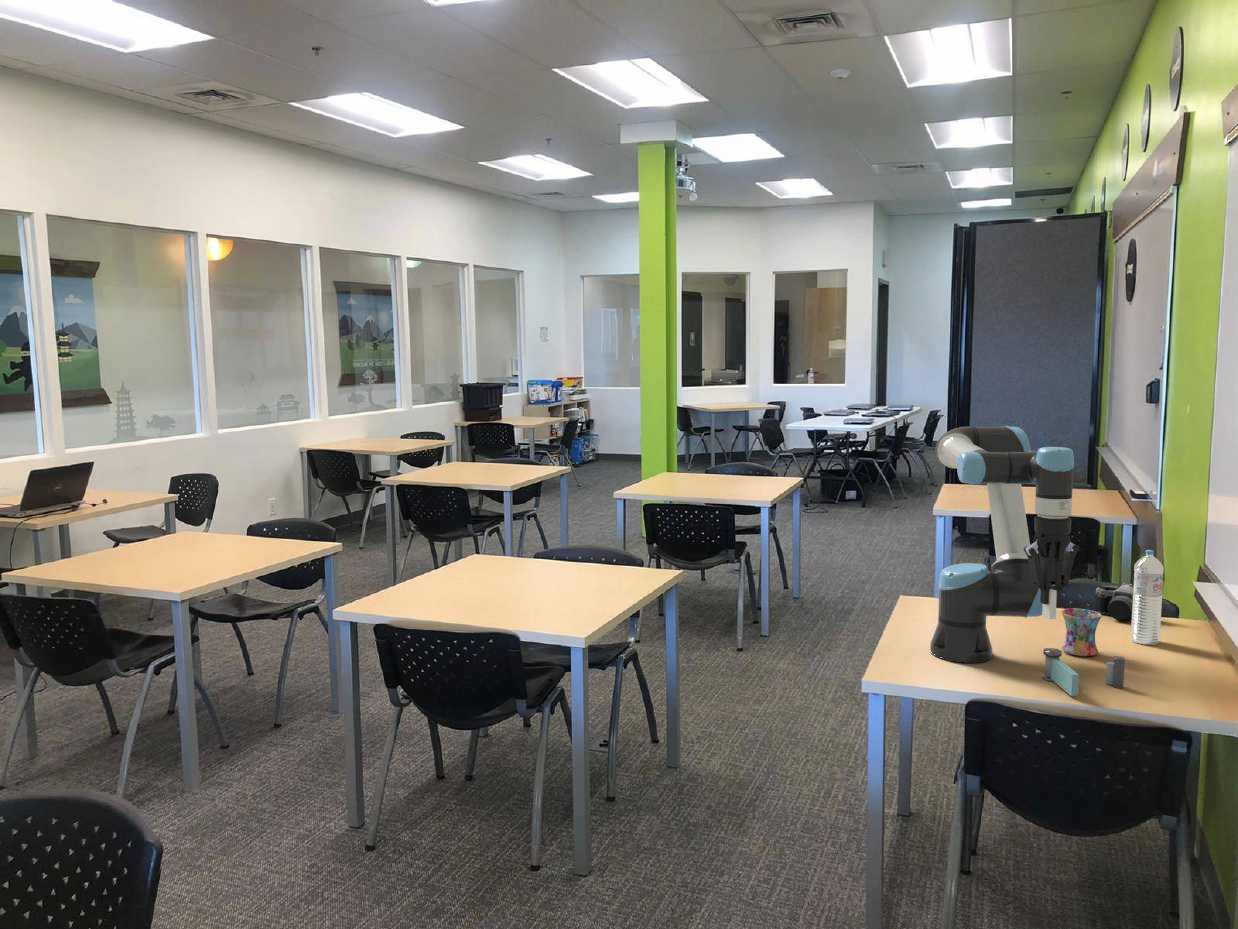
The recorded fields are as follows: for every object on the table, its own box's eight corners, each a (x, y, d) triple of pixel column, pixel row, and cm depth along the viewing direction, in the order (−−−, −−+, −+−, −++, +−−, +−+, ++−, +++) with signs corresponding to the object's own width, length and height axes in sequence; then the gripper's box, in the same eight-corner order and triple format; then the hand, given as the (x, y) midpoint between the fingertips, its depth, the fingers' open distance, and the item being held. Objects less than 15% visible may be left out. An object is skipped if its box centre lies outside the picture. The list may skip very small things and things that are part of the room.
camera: (1087, 618, 273) (1089, 584, 271) (1096, 610, 280) (1098, 578, 279) (1147, 628, 262) (1149, 593, 261) (1156, 619, 270) (1157, 586, 269)
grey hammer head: (1042, 680, 221) (1043, 652, 221) (1042, 675, 225) (1043, 647, 224) (1061, 682, 220) (1062, 654, 219) (1060, 677, 224) (1061, 649, 223)
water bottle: (1149, 637, 253) (1154, 547, 250) (1165, 645, 246) (1170, 553, 243) (1125, 638, 253) (1129, 548, 250) (1139, 646, 246) (1144, 553, 243)
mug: (1090, 661, 235) (1092, 620, 234) (1053, 652, 242) (1055, 612, 241) (1110, 651, 242) (1112, 611, 241) (1074, 643, 250) (1076, 604, 248)
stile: (1106, 686, 217) (1108, 657, 216) (1105, 682, 220) (1107, 653, 219) (1123, 688, 216) (1124, 659, 215) (1121, 684, 218) (1123, 655, 218)
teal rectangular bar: (1042, 674, 224) (1043, 654, 223) (1055, 674, 224) (1056, 654, 223) (1067, 696, 210) (1068, 674, 209) (1081, 696, 210) (1082, 674, 209)
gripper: (1038, 519, 205) (1034, 624, 208) (1089, 517, 208) (1085, 620, 210) (1016, 514, 212) (1013, 615, 215) (1067, 511, 215) (1062, 611, 218)
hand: (1048, 617), depth 213 cm, fingers closed
